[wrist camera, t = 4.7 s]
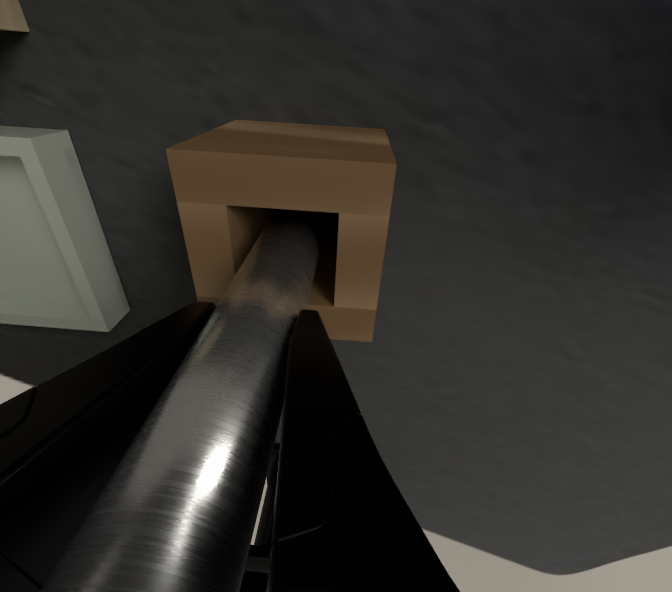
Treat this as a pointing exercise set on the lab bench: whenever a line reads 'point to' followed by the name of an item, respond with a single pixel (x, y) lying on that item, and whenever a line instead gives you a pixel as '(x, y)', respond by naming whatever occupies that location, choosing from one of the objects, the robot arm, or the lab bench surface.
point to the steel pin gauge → (202, 442)
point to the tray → (52, 238)
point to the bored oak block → (289, 208)
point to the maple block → (12, 16)
